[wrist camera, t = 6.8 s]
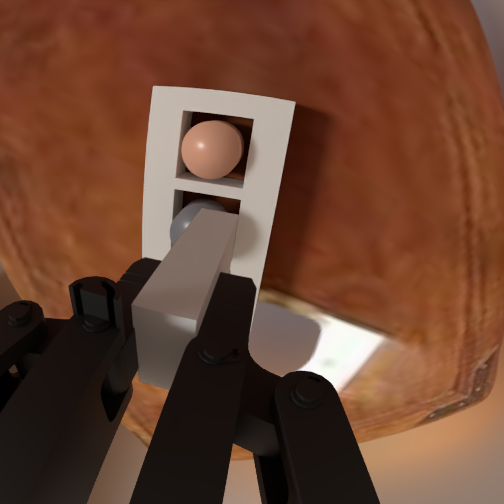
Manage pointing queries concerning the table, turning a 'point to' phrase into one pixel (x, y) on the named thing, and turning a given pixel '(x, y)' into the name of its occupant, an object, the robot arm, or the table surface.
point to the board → (248, 191)
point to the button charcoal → (191, 216)
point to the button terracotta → (212, 149)
